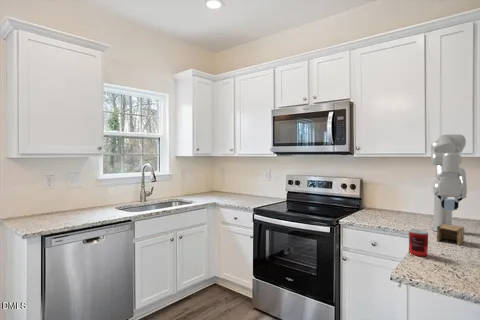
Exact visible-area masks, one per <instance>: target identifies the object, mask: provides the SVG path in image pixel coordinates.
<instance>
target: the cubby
mask: <svg viewBox="0 0 480 320" xmlns="http://www.w3.org/2000/svg"><path fill="white" fill-rule="evenodd" d="M464 235H465V227H464V226H460V225H459V226H458V225H453V224H452V225H446V224H442V225H440V226H438V227H437V231H436V242H440V241H441V240H443V239H444V240H451V241H452V240H453V241H456V246H460V245H461V244H463V243H464V238H465V237H464Z"/></svg>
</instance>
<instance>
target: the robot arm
mask: <svg viewBox="0 0 480 320" xmlns="http://www.w3.org/2000/svg"><path fill="white" fill-rule="evenodd" d="M466 143H467V139H466V137H465V136H464V135H463V134H442V135H440V136H439V137H438V138H437V141H436V140H435V141H433V142H432V143H431V144H430V152H431V153H430V160H431V161H430V162H431V163H432V165H433V166H435V178H436V180H437V182H434V183H433V186H432V187H433V188H432V189H433V196H434V198H433V199H434V201H433V202H434V203H433V205H434V208H433V209H434V211H433V226H431V227H430V230H431V231H433V232H437V227H438V226H440V225H442V224H446V225H453V211H452V210H444V200H446V199H449V198H454V199H455V205H454V209H455V210H454V211H456V210H458V209H459V203H460V202H461V201H462V200H464V199H466V198H467V193H468V187H467V186H468V185H467V173H466V170H465V169H464V168H463V167H460V166H461V164H462V161H463V159H462V158H463V157H462V155H461V153H462V152H463V151H464V149H465V147H466Z"/></svg>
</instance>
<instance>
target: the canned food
mask: <svg viewBox="0 0 480 320" xmlns="http://www.w3.org/2000/svg"><path fill="white" fill-rule="evenodd" d="M428 247H429V232H428V231H426V230H423V229H416V228H415V229H414V228H411V229H409V232H408V253H409V254H410V253H411V254H413V255H412V256H414V255H415V256H416V257H419V256H420V257H421V258H424V257H425V258H426V257H427V256H428V254H429V253H428V252H429V251H428V250H429V248H428ZM411 254H410V255H411ZM415 256H414V257H415ZM420 257H419V258H420Z"/></svg>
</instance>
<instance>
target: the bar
mask: <svg viewBox="0 0 480 320" xmlns="http://www.w3.org/2000/svg"><path fill="white" fill-rule="evenodd" d="M454 205H455V198H448V199H446V200H444V210H452V212H453V211H454V212H455V211H456V210H455V209H454Z"/></svg>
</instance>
